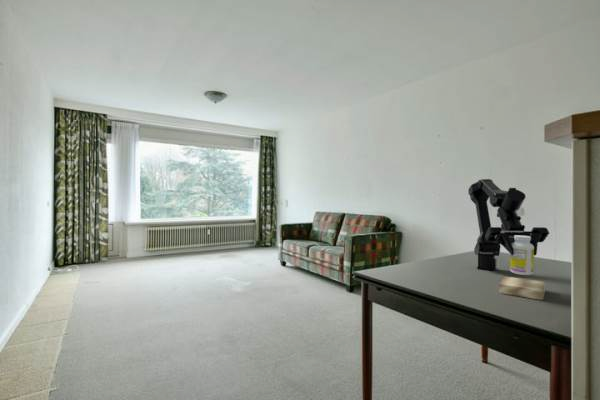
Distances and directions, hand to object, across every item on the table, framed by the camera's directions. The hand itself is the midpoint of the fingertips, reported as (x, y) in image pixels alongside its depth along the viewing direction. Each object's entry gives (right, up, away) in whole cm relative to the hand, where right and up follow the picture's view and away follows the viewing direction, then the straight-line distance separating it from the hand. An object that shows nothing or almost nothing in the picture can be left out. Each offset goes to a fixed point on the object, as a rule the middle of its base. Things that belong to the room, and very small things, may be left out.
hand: (524, 254), depth 108 cm
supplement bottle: (0, -7, +2) cm, 7 cm away
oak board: (+1, -13, +2) cm, 13 cm away
